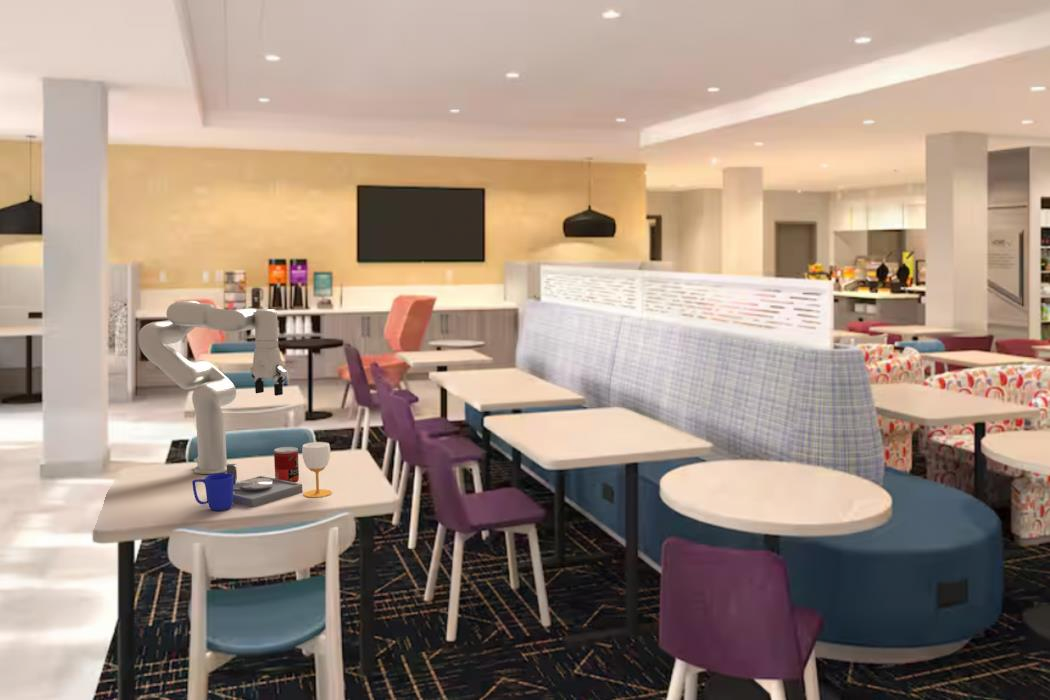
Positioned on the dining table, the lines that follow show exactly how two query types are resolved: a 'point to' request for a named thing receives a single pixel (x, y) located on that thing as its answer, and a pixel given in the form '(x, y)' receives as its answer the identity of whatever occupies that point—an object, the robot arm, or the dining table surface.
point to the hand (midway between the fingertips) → (269, 393)
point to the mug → (217, 491)
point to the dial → (248, 484)
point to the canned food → (286, 464)
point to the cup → (316, 464)
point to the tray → (265, 492)
